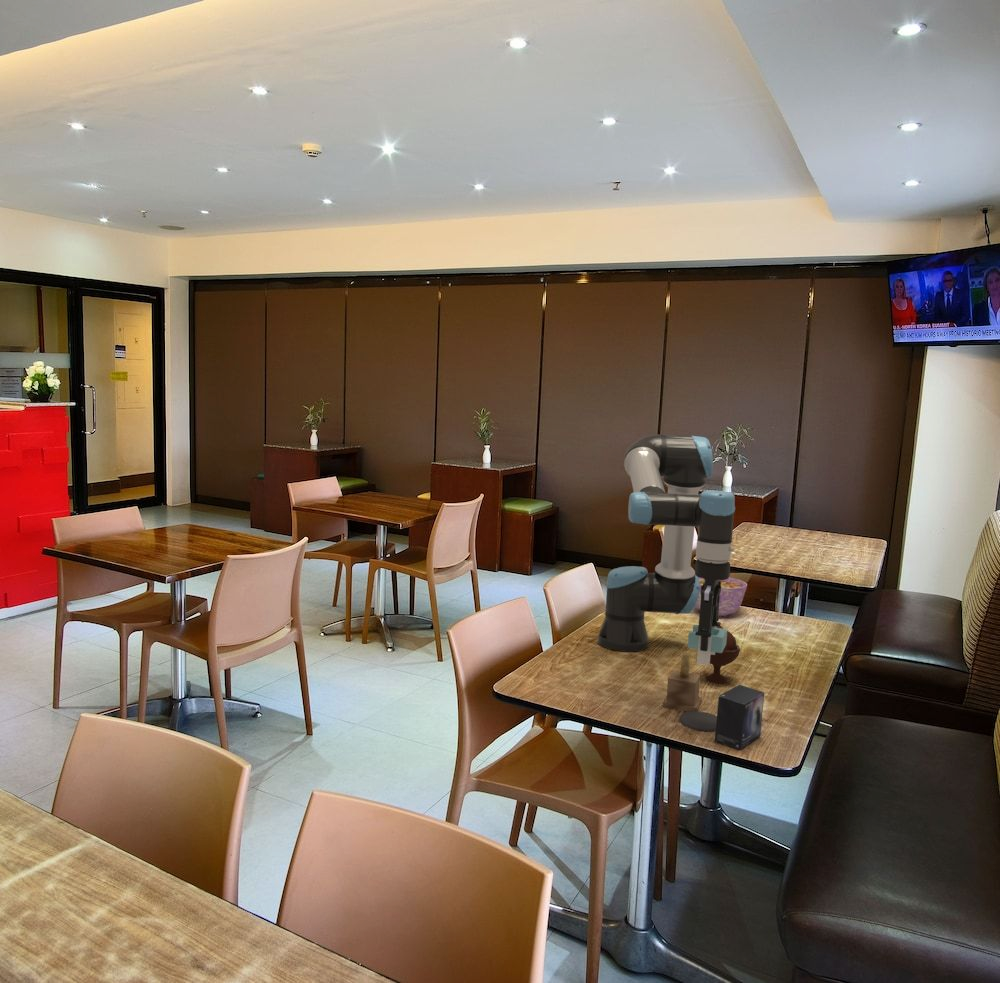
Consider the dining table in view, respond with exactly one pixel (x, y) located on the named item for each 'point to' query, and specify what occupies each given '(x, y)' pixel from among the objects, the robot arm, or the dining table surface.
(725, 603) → the bowl of food
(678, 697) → the stand
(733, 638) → the ice cream bowl
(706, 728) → the coaster
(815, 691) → the dining table surface
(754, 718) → the small box
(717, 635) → the c link
